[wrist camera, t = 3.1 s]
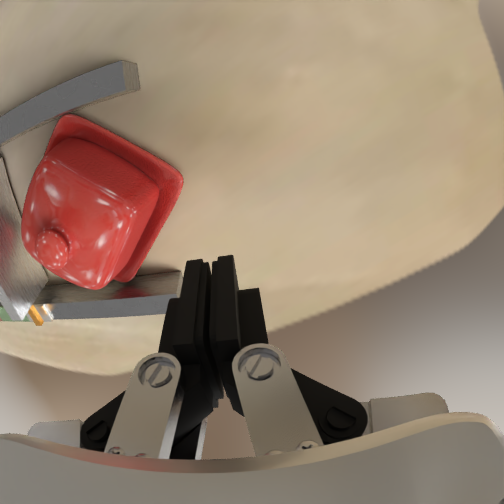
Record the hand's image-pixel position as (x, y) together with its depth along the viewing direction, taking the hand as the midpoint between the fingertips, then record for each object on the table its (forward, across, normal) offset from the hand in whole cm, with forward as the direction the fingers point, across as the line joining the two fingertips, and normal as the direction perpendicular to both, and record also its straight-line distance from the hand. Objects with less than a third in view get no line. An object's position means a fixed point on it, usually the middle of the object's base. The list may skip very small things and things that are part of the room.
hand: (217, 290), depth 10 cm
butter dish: (+12, +10, -1) cm, 16 cm away
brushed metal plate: (+11, +19, 0) cm, 23 cm away
